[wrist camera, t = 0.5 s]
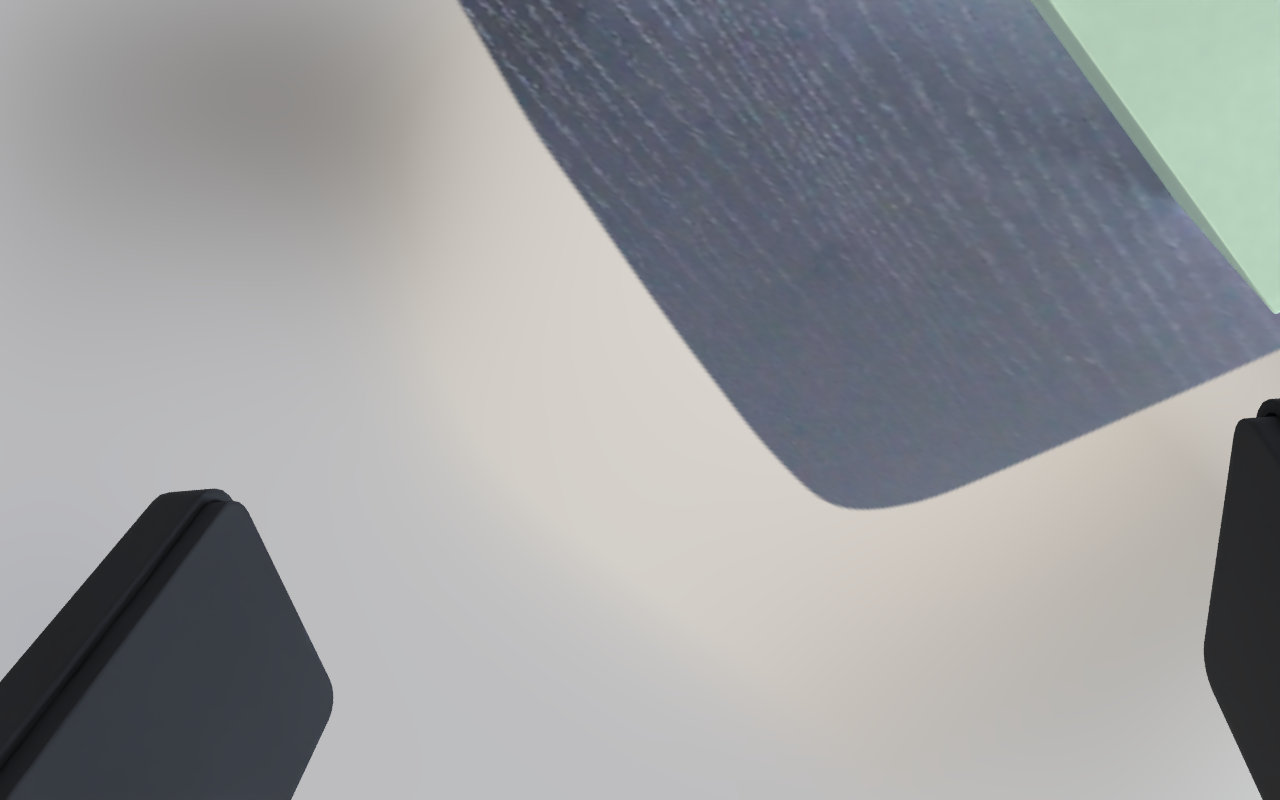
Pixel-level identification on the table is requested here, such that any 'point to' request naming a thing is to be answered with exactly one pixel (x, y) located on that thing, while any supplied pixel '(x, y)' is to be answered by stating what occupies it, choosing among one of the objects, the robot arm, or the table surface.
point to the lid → (1202, 107)
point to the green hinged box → (1130, 126)
